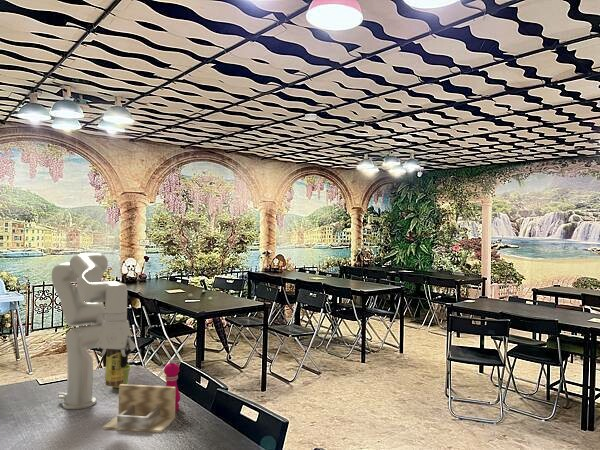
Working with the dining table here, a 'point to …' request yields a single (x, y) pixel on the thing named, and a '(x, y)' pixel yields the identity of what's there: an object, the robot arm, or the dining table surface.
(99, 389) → the dining table surface
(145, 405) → the condiment rack
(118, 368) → the sauce bottle
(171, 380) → the pepper mill
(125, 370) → the plant pot
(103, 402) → the dining table surface
